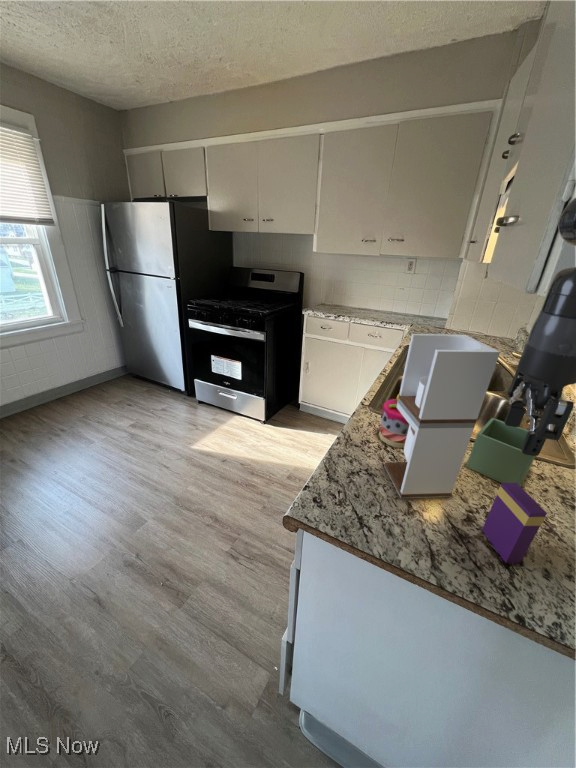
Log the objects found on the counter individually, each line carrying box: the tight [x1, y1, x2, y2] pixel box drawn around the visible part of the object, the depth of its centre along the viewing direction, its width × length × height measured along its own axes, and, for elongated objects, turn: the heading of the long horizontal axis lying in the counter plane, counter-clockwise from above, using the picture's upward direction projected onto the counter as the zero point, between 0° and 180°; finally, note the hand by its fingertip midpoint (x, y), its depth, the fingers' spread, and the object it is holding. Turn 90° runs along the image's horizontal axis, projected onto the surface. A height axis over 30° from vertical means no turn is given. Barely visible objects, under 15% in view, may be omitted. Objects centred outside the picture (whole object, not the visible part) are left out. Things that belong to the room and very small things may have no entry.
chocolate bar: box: [481, 483, 548, 564], centre depth 57 cm, size 3×7×13 cm, turn 3°
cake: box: [378, 393, 410, 449], centre depth 87 cm, size 10×11×15 cm
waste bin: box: [466, 417, 536, 488], centre depth 77 cm, size 11×11×11 cm
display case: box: [383, 333, 501, 500], centre depth 67 cm, size 11×11×35 cm
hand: (519, 438), depth 52 cm, fingers open, 8 cm apart
